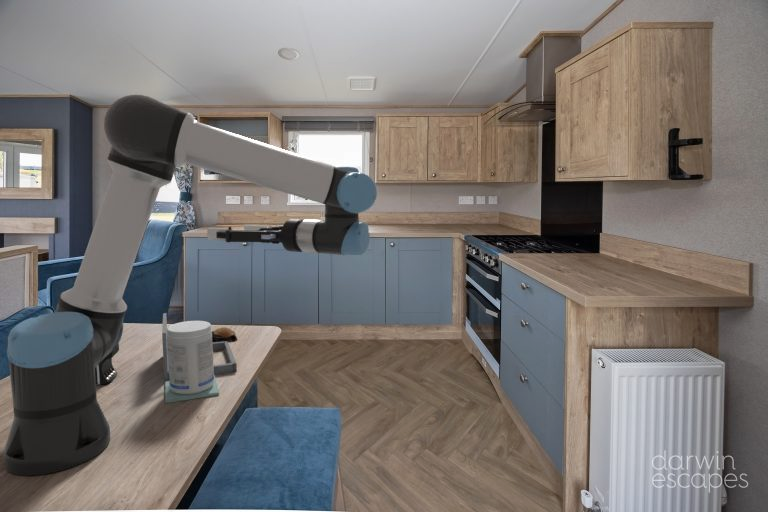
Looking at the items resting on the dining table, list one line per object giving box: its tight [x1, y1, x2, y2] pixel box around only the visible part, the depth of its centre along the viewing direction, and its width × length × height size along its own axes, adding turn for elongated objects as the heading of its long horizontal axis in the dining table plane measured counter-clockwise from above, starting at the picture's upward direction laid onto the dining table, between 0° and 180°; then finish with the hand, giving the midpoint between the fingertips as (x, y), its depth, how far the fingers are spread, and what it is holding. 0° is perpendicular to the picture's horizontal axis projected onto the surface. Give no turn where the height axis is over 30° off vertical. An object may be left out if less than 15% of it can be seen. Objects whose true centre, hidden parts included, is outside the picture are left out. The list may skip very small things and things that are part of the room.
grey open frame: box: [161, 312, 237, 382], centre depth 122 cm, size 17×20×12 cm
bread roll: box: [212, 326, 238, 344], centre depth 144 cm, size 11×8×4 cm
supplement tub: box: [167, 320, 215, 394], centre depth 104 cm, size 10×10×15 cm
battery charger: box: [95, 342, 120, 386], centre depth 109 cm, size 7×4×11 cm, turn 13°
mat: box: [164, 374, 220, 404], centre depth 106 cm, size 11×11×1 cm
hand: (227, 231), depth 112 cm, fingers open, 13 cm apart
